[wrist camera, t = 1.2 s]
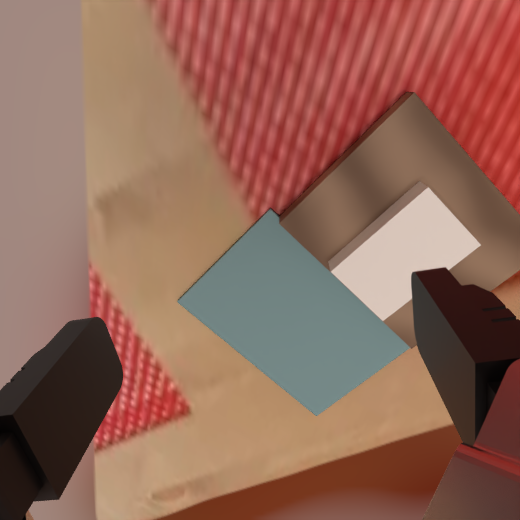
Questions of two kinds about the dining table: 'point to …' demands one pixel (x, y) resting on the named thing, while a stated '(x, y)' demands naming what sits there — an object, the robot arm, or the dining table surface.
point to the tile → (401, 250)
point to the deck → (395, 186)
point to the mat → (291, 317)
